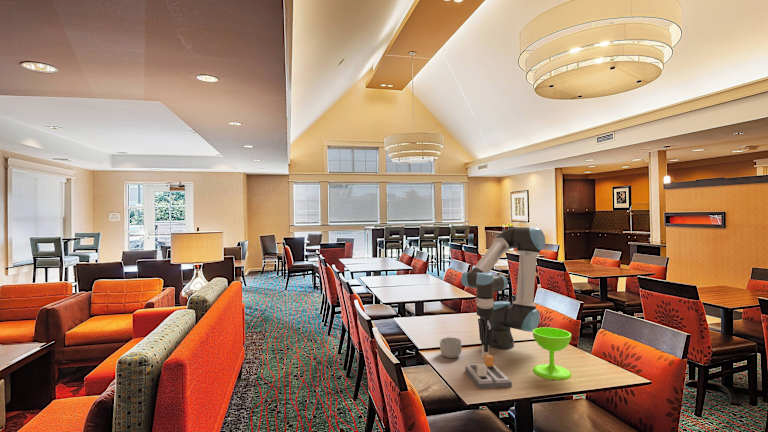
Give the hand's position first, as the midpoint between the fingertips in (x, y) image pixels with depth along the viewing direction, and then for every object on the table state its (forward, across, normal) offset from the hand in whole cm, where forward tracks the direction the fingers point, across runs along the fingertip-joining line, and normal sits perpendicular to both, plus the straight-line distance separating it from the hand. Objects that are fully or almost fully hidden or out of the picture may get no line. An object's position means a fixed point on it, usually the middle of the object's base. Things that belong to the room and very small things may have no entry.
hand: (485, 358), depth 179 cm
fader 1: (+3, +14, -7) cm, 16 cm away
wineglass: (+5, +7, +28) cm, 30 cm away
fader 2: (+3, +4, 0) cm, 5 cm away
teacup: (+5, -20, -11) cm, 23 cm away
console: (+5, +10, -3) cm, 12 cm away
